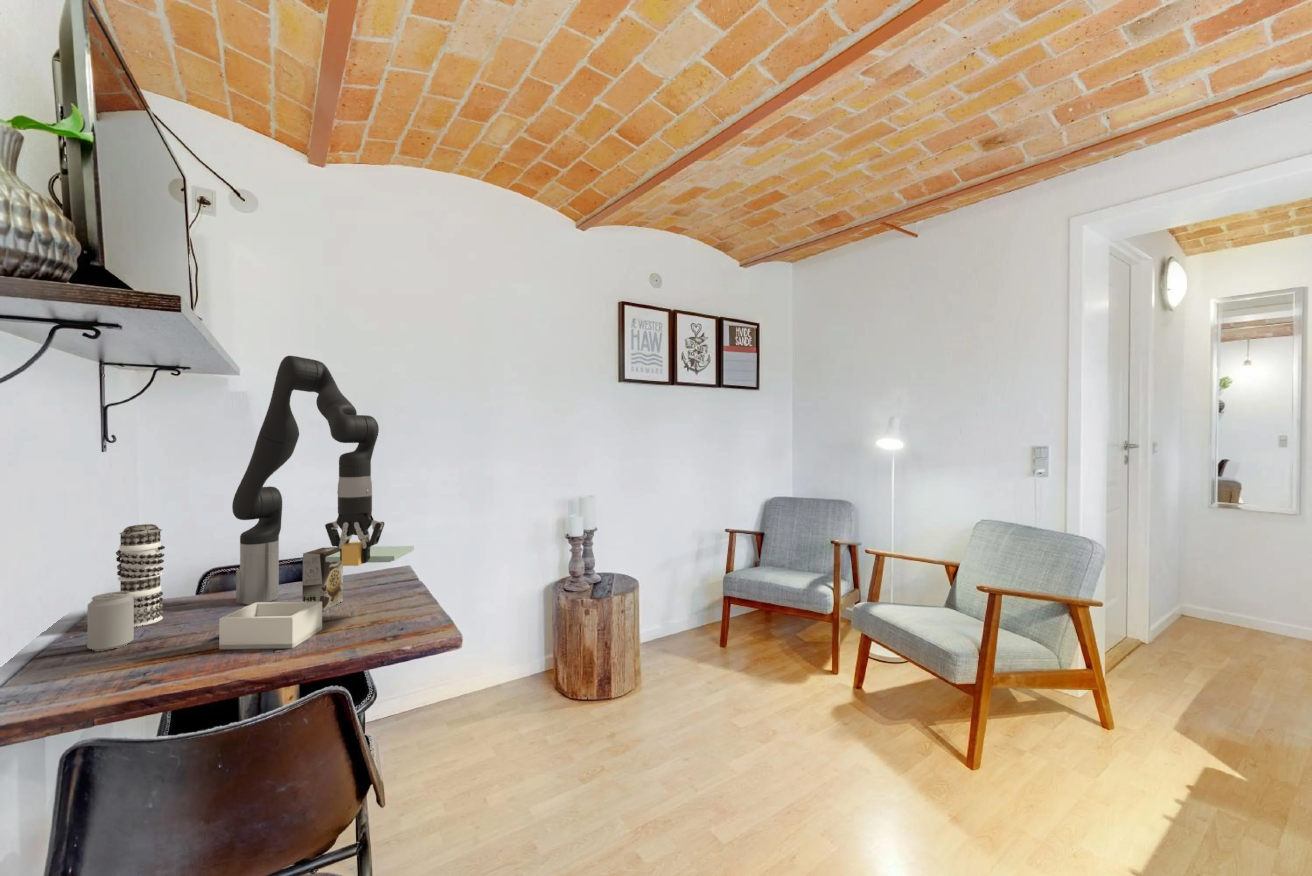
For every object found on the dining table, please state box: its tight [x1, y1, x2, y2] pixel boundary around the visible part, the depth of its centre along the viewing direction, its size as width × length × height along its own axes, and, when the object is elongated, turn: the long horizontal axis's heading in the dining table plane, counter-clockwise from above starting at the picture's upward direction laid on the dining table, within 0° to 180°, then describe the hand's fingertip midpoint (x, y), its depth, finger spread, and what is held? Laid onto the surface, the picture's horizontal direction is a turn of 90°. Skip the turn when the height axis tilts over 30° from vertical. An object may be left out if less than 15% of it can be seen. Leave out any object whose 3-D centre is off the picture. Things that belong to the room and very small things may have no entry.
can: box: [86, 590, 135, 651], centre depth 124 cm, size 8×8×12 cm
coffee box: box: [301, 546, 344, 612], centre depth 154 cm, size 9×6×16 cm
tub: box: [218, 601, 323, 650], centre depth 129 cm, size 16×12×7 cm
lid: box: [326, 541, 415, 567], centre depth 142 cm, size 17×18×6 cm
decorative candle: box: [115, 523, 166, 628], centre depth 141 cm, size 9×9×25 cm
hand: (355, 562), depth 136 cm, fingers closed on lid, 4 cm apart
